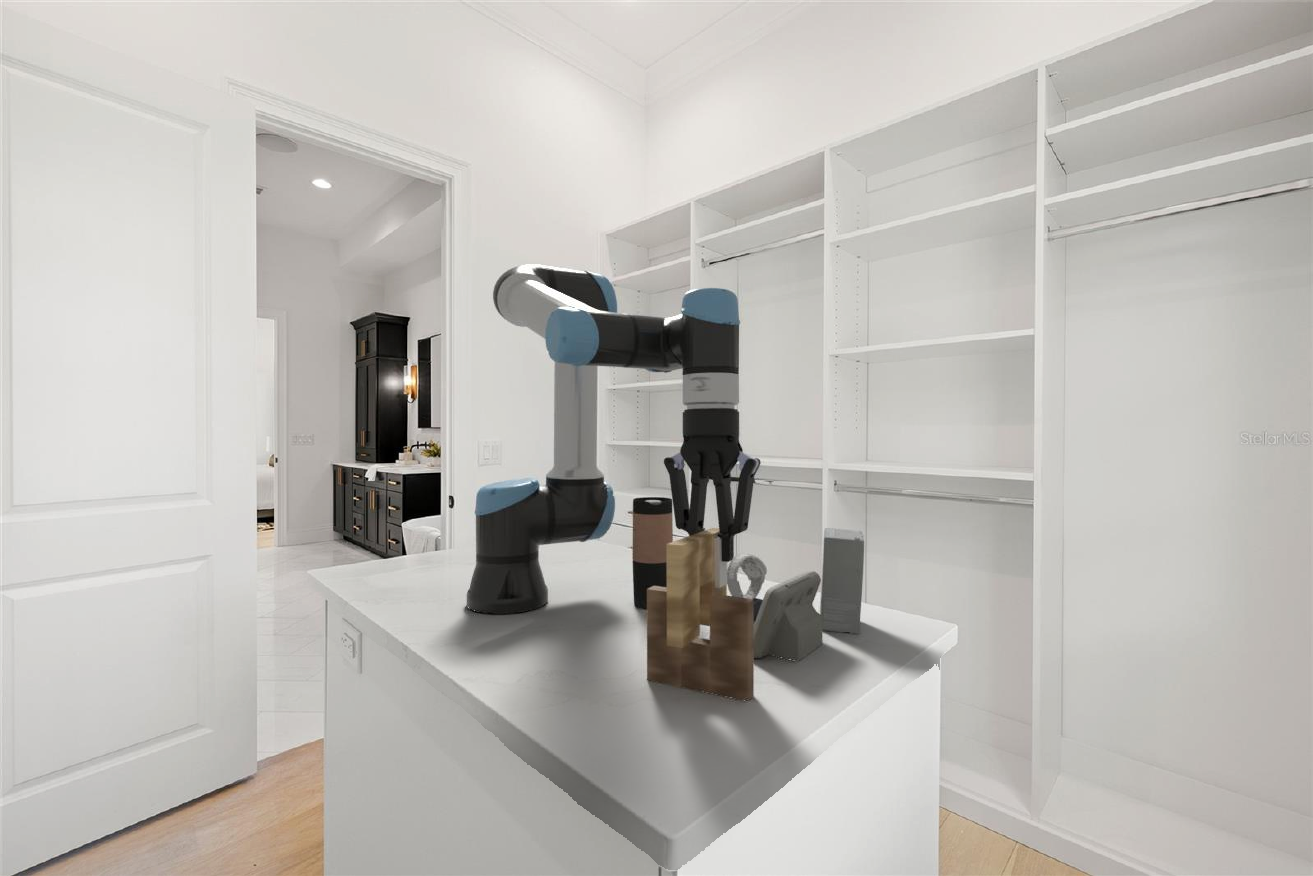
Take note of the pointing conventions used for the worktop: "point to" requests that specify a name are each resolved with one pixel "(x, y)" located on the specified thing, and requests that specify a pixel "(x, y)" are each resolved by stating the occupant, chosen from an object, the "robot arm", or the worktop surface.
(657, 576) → the travel mug
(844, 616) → the skincare box
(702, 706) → the worktop surface
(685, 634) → the notched board
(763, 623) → the digital clock
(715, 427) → the robot arm
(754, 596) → the watch
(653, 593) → the notched stand
